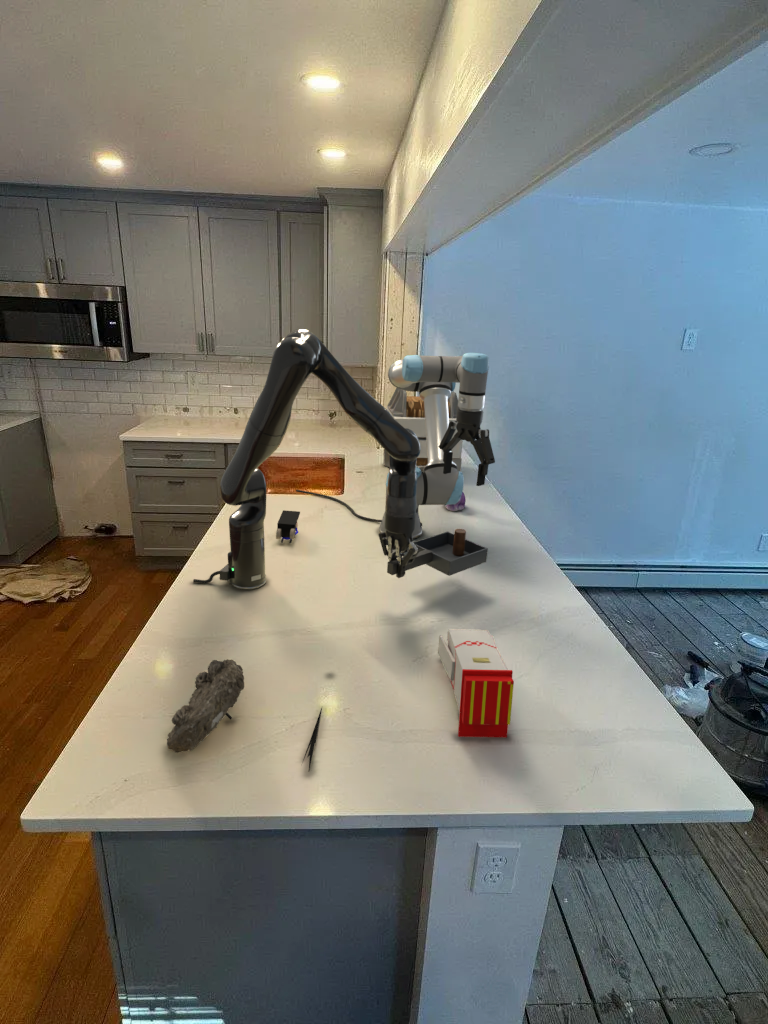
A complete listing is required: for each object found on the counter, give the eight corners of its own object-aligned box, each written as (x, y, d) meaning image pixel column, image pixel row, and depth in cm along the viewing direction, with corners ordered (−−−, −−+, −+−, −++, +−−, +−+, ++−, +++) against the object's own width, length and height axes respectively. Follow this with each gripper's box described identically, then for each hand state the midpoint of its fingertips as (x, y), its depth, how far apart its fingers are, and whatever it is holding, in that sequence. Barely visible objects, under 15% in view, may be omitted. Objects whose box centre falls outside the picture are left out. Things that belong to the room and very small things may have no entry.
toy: (488, 613, 130) (523, 677, 101) (484, 667, 133) (517, 744, 104) (435, 612, 130) (455, 676, 101) (432, 666, 133) (451, 743, 103)
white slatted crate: (382, 463, 289) (386, 382, 275) (445, 464, 293) (451, 384, 279) (390, 482, 257) (394, 392, 243) (460, 483, 261) (468, 394, 247)
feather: (331, 679, 122) (336, 673, 122) (307, 777, 96) (313, 769, 95) (324, 675, 122) (329, 669, 121) (298, 772, 95) (304, 764, 95)
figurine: (452, 513, 222) (455, 476, 217) (438, 505, 231) (441, 469, 226) (471, 510, 227) (475, 474, 221) (457, 502, 235) (460, 467, 230)
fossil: (192, 660, 117) (244, 628, 112) (224, 691, 120) (276, 661, 115) (142, 746, 98) (202, 712, 93) (182, 779, 101) (242, 748, 96)
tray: (409, 590, 138) (410, 574, 136) (370, 568, 148) (371, 553, 147) (486, 562, 156) (488, 547, 154) (446, 544, 166) (448, 530, 165)
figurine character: (295, 549, 186) (301, 528, 200) (295, 529, 183) (300, 509, 196) (275, 549, 186) (282, 527, 199) (274, 528, 183) (281, 508, 196)
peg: (450, 553, 159) (452, 530, 156) (457, 550, 161) (459, 527, 159) (458, 557, 157) (461, 533, 154) (466, 554, 159) (468, 531, 156)
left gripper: (370, 506, 141) (368, 569, 147) (408, 522, 131) (404, 589, 137) (393, 500, 146) (390, 562, 152) (431, 516, 136) (426, 581, 142)
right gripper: (430, 402, 170) (425, 470, 178) (495, 418, 152) (486, 492, 160) (448, 400, 174) (442, 466, 182) (513, 415, 157) (503, 488, 165)
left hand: (396, 574), depth 144 cm, fingers closed on tray, 2 cm apart
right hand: (463, 479), depth 171 cm, fingers open, 13 cm apart
